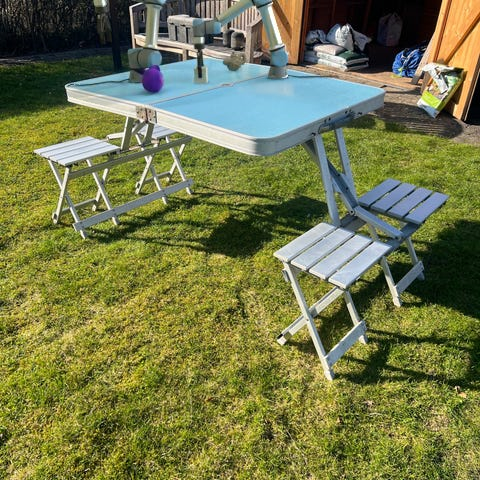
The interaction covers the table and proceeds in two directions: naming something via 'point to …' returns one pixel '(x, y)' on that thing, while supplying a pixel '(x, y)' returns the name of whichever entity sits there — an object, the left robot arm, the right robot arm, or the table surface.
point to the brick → (204, 75)
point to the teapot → (234, 61)
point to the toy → (152, 79)
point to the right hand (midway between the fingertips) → (201, 76)
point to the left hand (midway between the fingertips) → (106, 42)
